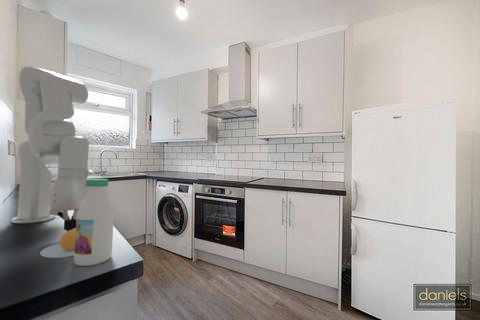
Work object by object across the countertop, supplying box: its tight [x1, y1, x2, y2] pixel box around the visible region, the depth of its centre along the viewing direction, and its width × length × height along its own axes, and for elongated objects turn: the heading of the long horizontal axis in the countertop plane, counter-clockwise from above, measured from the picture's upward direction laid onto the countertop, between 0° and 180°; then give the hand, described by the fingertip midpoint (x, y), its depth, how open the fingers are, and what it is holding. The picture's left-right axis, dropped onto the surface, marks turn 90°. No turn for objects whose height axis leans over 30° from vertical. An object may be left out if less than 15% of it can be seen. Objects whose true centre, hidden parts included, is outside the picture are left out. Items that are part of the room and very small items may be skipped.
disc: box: [39, 242, 74, 259], centre depth 59 cm, size 13×13×1 cm
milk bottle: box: [73, 178, 114, 267], centre depth 53 cm, size 8×8×20 cm
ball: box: [59, 229, 76, 251], centre depth 58 cm, size 6×6×6 cm
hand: (69, 231), depth 69 cm, fingers closed
